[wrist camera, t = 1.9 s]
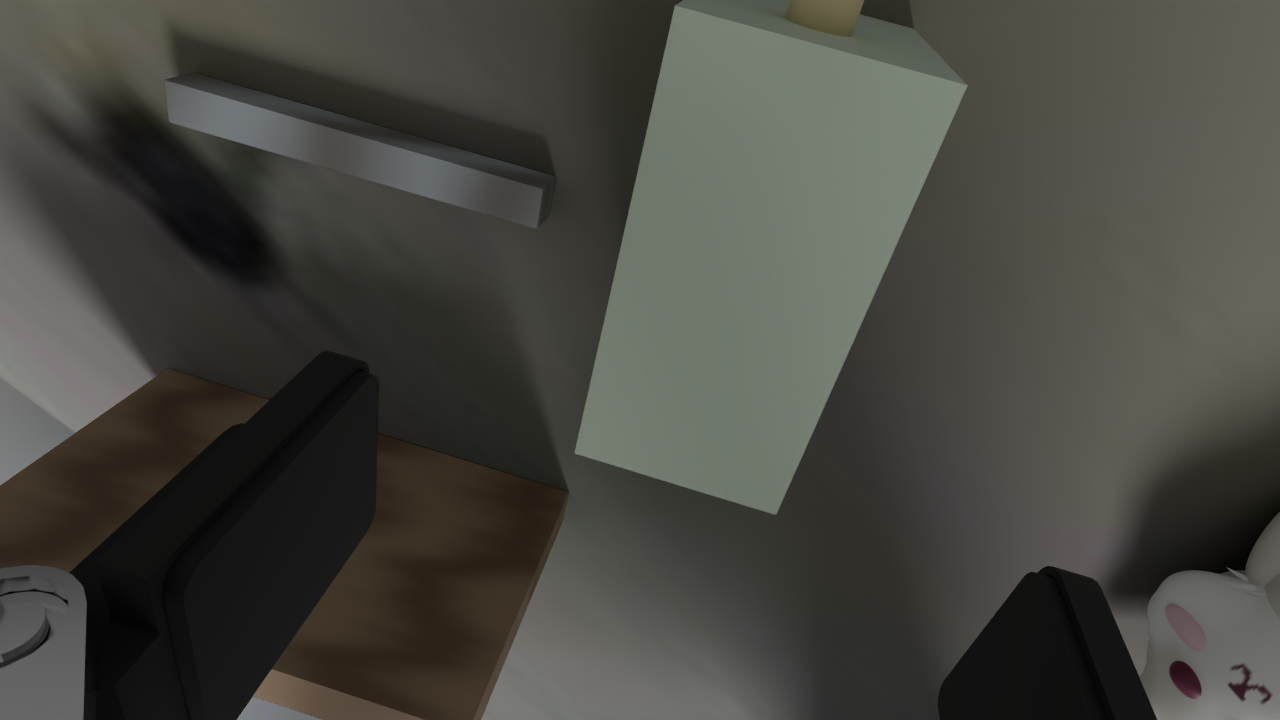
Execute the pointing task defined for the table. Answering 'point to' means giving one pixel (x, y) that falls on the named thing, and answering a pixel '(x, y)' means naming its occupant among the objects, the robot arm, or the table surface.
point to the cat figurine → (1218, 640)
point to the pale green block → (758, 236)
